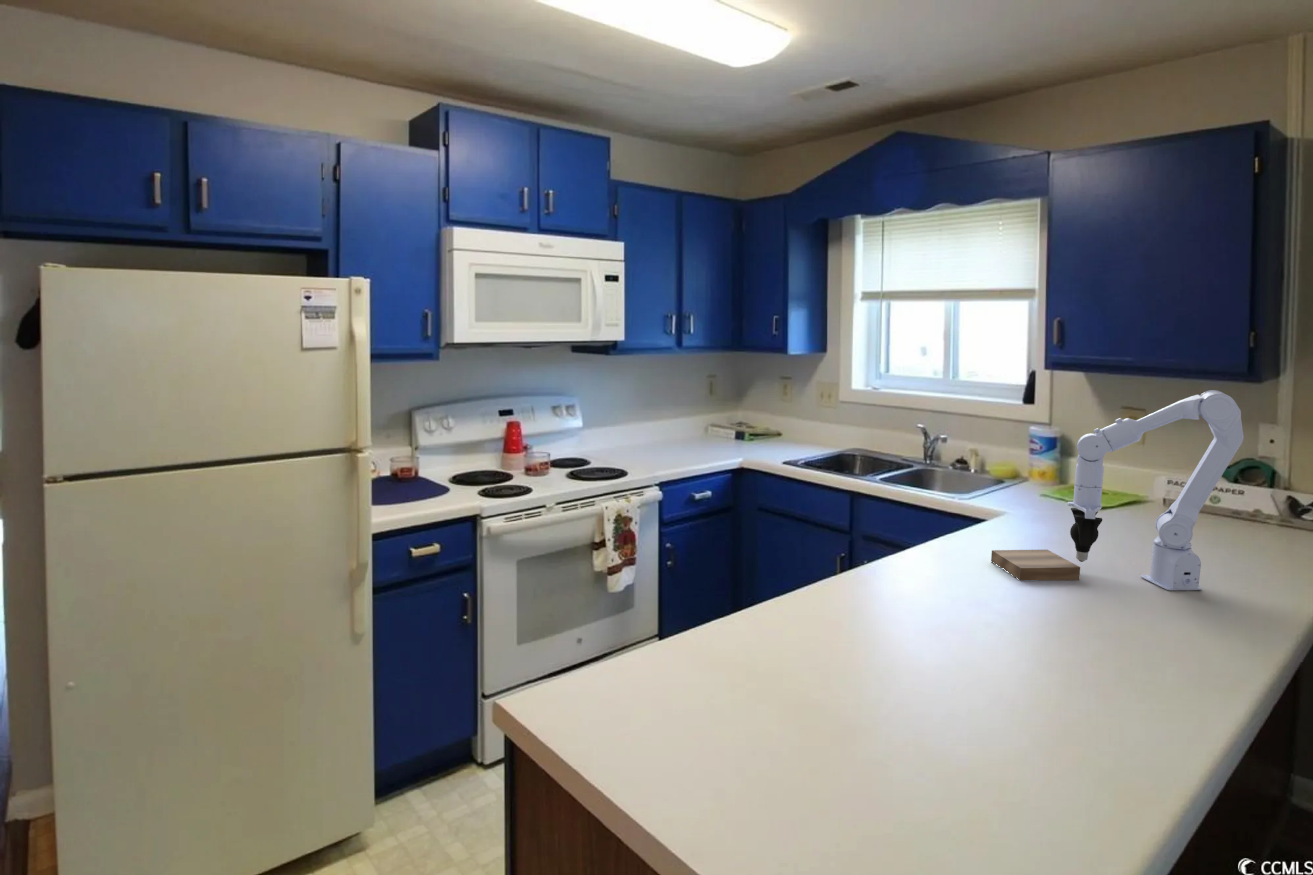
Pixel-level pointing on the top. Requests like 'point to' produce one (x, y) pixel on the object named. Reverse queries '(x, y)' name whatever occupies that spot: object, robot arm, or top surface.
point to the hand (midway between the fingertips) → (1083, 541)
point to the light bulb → (1080, 550)
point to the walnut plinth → (1035, 565)
